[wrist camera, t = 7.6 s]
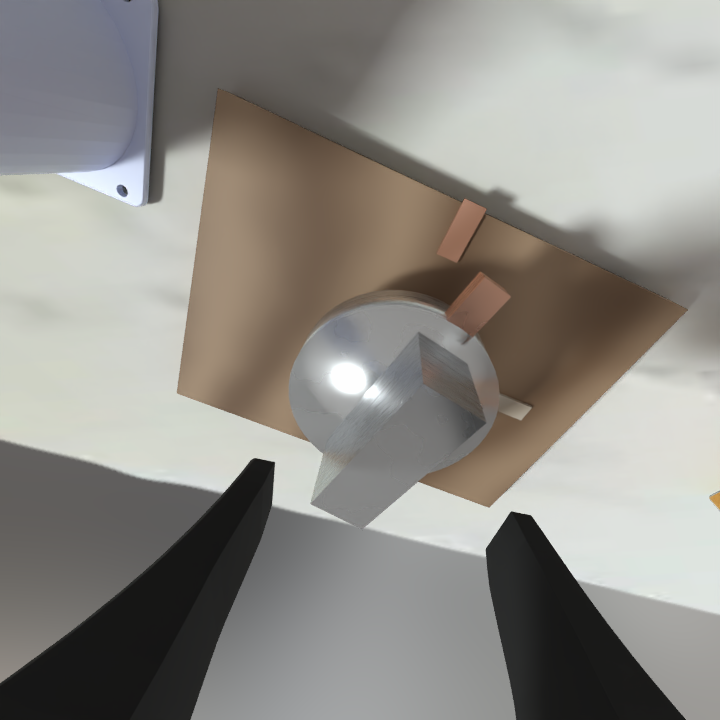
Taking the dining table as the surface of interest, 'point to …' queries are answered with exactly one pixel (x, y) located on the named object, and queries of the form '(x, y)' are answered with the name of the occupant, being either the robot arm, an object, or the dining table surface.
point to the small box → (715, 499)
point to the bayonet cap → (394, 393)
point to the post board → (390, 272)
